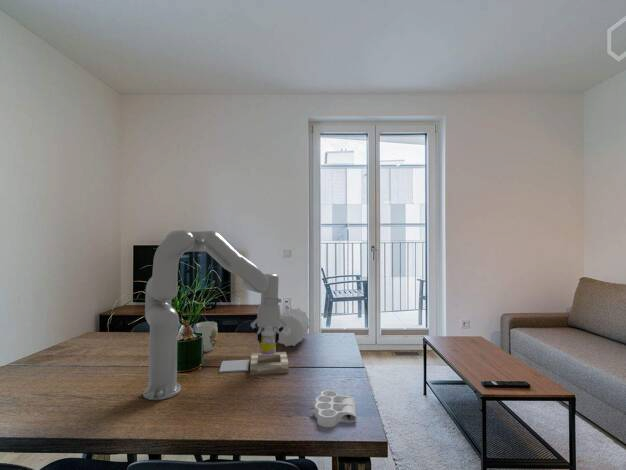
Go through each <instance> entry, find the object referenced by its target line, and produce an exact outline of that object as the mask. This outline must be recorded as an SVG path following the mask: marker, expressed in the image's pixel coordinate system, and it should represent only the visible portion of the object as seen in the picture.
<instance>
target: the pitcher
mask: <svg viewBox="0 0 626 470" xmlns="http://www.w3.org/2000/svg"><path fill="white" fill-rule="evenodd" d="M195 327H196V330H195V333H202V336H203V345H204V352H203V353H205V352H206V353H207V352H212V351H213V350H214V349H215V347H216V345H217V342H218V334H219V333H218V331H219V330H218V322H215V321H200V322H198V323H196V324H195Z"/></svg>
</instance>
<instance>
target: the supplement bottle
mask: <svg viewBox="0 0 626 470" xmlns="http://www.w3.org/2000/svg"><path fill="white" fill-rule="evenodd" d="M276 345H277V343H276V331H275V330H274V328H272V327H271V326H266V328H263V329H262V330H261V343H260V348H259V349H260V350H259V351H260V352H259V353H261V355H264V356H271V355H274V354H275V352H276V349H277V348H276Z"/></svg>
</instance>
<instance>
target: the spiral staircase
mask: <svg viewBox="0 0 626 470" xmlns="http://www.w3.org/2000/svg"><path fill="white" fill-rule="evenodd" d="M280 318H281V319H282V320H283V321H284V322H285V323H286V324H287V325H286V327H285V328H284V329H283V330H282V331H281V332H280V333H279V341H277V344H282V345H284V346H285V347H289V346H290V347H291V346H293V347H295V346H296V345H297V344H299V343H302V341H303V339H304V337H306V334H307V332H308V330H309V328H310V325H309V324H310V318H309V317H308V316H307V312H305V311H303V310H300V308H293V307H290V308H289V309H287V310H286V311H285V310H283V312H282V313H280ZM282 325H283V324H281V323H280V327H281V326H282ZM280 327H278V328H280ZM273 330H275V331H276V329H275V328H273Z"/></svg>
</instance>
